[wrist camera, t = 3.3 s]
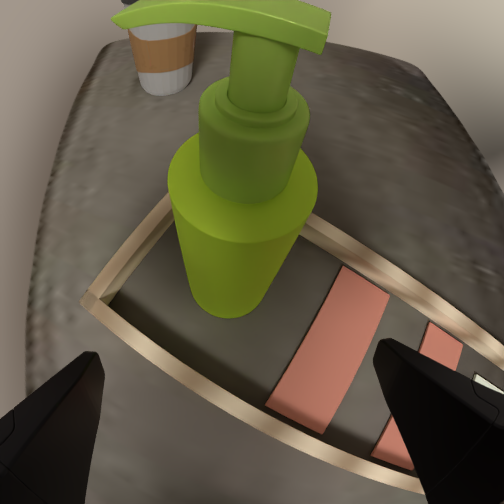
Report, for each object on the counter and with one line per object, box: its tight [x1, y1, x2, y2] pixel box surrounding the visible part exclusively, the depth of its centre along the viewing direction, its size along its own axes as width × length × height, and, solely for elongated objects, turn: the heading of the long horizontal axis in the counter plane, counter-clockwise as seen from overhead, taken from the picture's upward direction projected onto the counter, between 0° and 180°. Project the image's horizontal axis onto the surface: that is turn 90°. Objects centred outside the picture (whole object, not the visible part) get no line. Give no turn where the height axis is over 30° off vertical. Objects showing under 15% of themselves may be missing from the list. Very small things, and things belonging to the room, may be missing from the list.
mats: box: [265, 266, 463, 470], centre depth 21 cm, size 15×13×1 cm
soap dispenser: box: [111, 0, 331, 318], centre depth 14 cm, size 6×7×20 cm
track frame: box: [79, 192, 504, 494], centre depth 21 cm, size 44×16×2 cm, turn 58°
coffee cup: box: [121, 0, 197, 96], centre depth 26 cm, size 8×8×15 cm
